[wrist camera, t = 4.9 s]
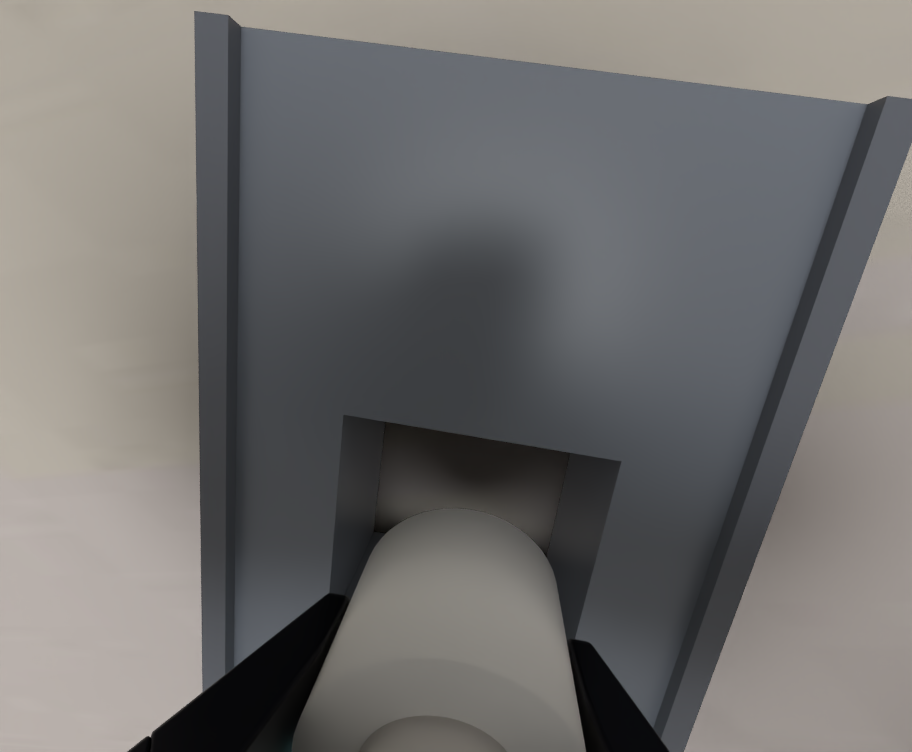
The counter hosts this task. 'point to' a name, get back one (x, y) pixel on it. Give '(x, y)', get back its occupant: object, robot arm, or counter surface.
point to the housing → (516, 319)
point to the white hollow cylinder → (448, 647)
